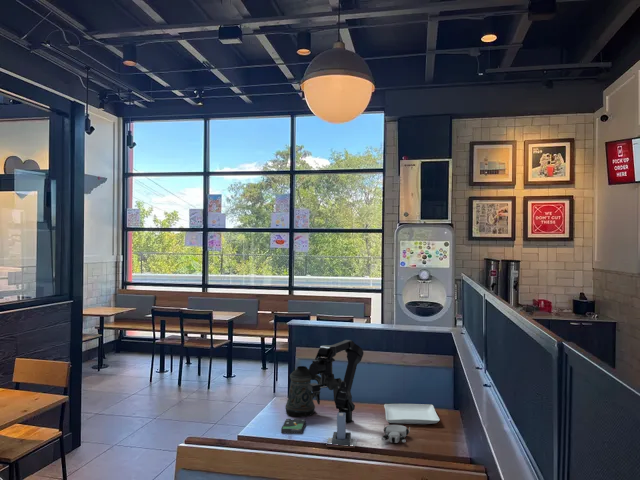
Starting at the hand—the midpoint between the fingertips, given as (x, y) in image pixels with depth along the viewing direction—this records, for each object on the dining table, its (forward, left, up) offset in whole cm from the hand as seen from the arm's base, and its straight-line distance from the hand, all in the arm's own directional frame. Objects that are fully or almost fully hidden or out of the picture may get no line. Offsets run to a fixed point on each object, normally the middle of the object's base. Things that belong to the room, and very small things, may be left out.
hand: (327, 403), depth 233 cm
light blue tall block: (+3, +20, -12) cm, 23 cm away
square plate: (-48, +5, -14) cm, 50 cm away
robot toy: (-22, +26, -13) cm, 37 cm away
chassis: (+3, +20, -13) cm, 24 cm away
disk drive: (+14, -10, -14) cm, 22 cm away
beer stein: (-1, -31, -13) cm, 34 cm away
